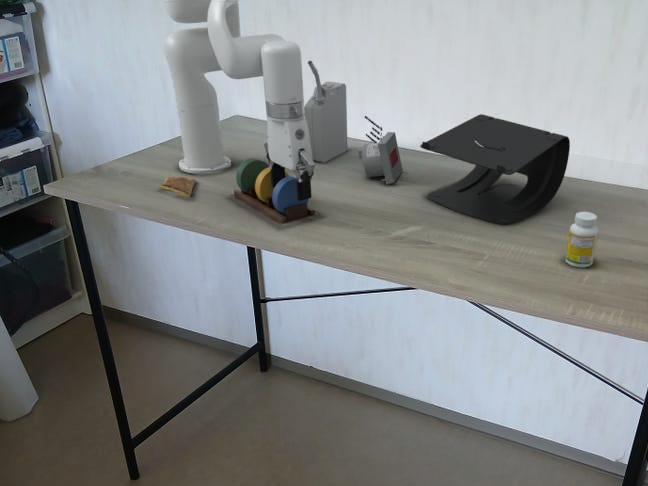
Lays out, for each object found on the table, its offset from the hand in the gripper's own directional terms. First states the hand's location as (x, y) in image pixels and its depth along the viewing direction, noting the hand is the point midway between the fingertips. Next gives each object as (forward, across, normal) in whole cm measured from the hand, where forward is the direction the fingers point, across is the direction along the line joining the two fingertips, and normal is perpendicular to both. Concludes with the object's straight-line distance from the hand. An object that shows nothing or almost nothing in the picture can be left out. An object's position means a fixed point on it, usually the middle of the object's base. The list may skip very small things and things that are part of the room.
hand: (291, 192), depth 156 cm
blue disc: (+5, 0, 0) cm, 5 cm away
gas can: (+6, +30, -29) cm, 42 cm away
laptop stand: (+6, -18, -42) cm, 46 cm away
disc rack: (+6, +8, 0) cm, 10 cm away
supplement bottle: (+7, -52, -32) cm, 61 cm away
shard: (+6, +29, +10) cm, 31 cm away
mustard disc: (+5, +8, 0) cm, 9 cm away
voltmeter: (+6, +15, -35) cm, 38 cm away
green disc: (+5, +15, 0) cm, 16 cm away
